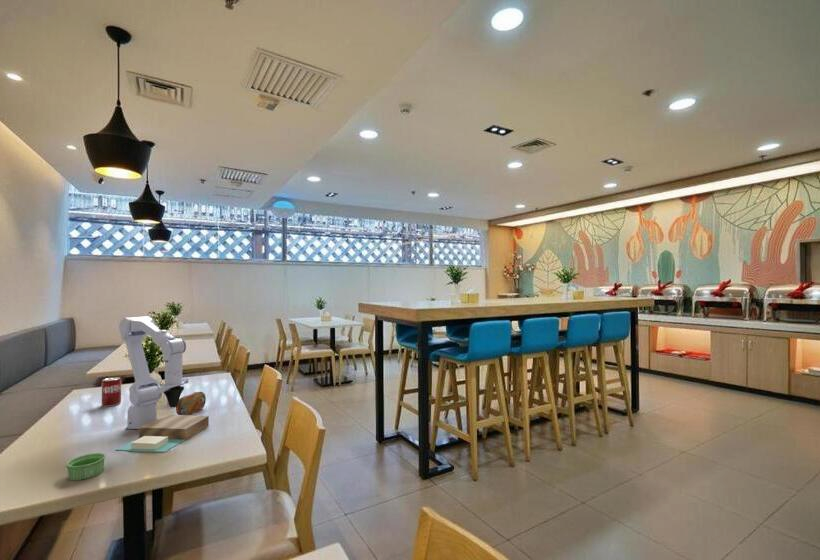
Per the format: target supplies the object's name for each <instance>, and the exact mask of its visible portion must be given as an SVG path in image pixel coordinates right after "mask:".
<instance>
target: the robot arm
mask: <svg viewBox="0 0 820 560" xmlns="http://www.w3.org/2000/svg"><path fill="white" fill-rule="evenodd" d="M153 321H154V320H153V318H151V317H150V316H149V315H145V316H132V317H123V318H122V319H121V320H120V322H119V325H118V330H119V333H120V337H121V340H123V341H124V343H125V346H126V349H127V353H128V358H129V362H130V365H131V369H132V373H133V377H134V382H133V383H132V384H131V385H130V386H129V388H128V390H129V402H130V406H129V407H128V410H127V421H126V422H127V426H126V427H125V429H127V430H128V429H129V430H130V429H132V430H139V427H141V426H143V425H145V424H147V423H149V422H152V421H154V420H156V419H158V414H157V413H158V402H160V399H161V398H162V395H163V394H164V395H165V397H166V398H167V399H166V400H167V402H168V405H169V408H176V407H177V405H178V401H179V399H180V398H181V395H182V393H183V391H184V389H185V386H183V385H185V384H189V377H183V354H184V353H185V352H186V349H187V343H186V341H185V339H183V338H182V337H180V338H179V337H178V338H176V337H174V335H172V334H170V333H169V332H168V330H167V329H160V328H158V327H157V325H155V324H154V322H153ZM147 336H149V337H151V341H152V342H153V343H154V344H156V345H157V346H158V347H159V348H160V350H161V353H162V358H163V360H164V383H163V384H161V385H160V384H159V380H158V379H156V378H154V377H151V373H150V370H149V365H148V363H147V359H146V354H145V351H144V347H143V343H142V340H143V339H145V338H146V337H147Z"/></svg>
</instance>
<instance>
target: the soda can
mask: <svg viewBox="0 0 820 560" xmlns="http://www.w3.org/2000/svg"><path fill="white" fill-rule="evenodd" d="M121 402H122V378H121V377H118V376H115V377H114V376H113V377H107V378H104V379H102V380H101V406H102V407H105V408H106V407H113V406H115V407H116V406H117V405H120V404H121Z"/></svg>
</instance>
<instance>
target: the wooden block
mask: <svg viewBox="0 0 820 560" xmlns="http://www.w3.org/2000/svg"><path fill="white" fill-rule="evenodd" d="M209 420H210V419H209V415H194V414H191V415H178V414H164V415H162V416H160V417H157V419H156V420H154V421H152V422H149V423H147V424H145V425H143V426H141V427H139V429H138V438H141V437H143V436H162V437H168V439H181V440H185V441H186V440H189V439H190V438H191V437H194V436H195V435H196V434H198V433H199V432H201V431H203V430H205V429H206V428H207V427H209V422H210V421H209Z"/></svg>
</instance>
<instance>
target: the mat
mask: <svg viewBox="0 0 820 560" xmlns="http://www.w3.org/2000/svg"><path fill="white" fill-rule="evenodd" d="M137 439H139V437H137V438H135V439H134V440H132V441H129V442H128V443H125V444H123V445H121V446H120V447H118V448H116V449H115V451H116V452H117V451H120V452H121V451H122V452H143V453H146V452H147V453H166V452H168V451H170V450H172V449H174V448H175V447H176V446H178V445H179V444H182V443H183V442H185V441H186V440H181V439H168V443H166V444H164V445H163V446H161V447H159V448H158V449H156V450H155V449H131V443H132V442H134V441H135V440H137Z"/></svg>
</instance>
